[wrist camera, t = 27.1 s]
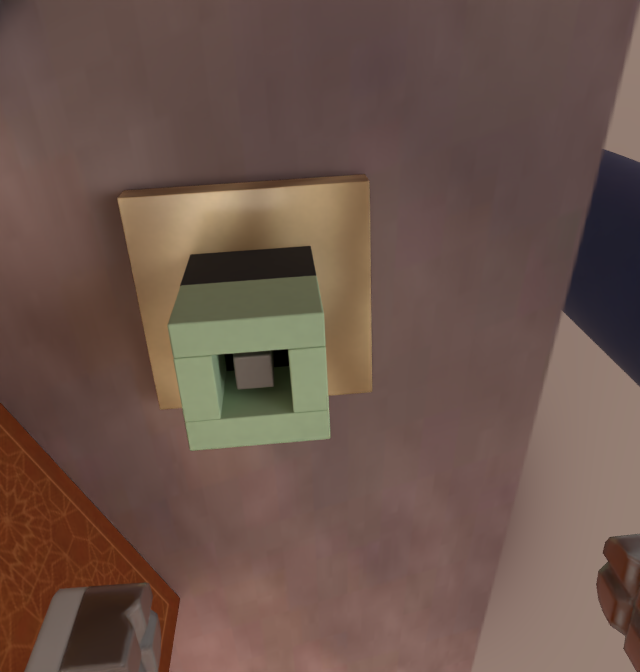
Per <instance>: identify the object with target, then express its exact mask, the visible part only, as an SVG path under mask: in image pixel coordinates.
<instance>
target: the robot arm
mask: <svg viewBox="0 0 640 672" xmlns="http://www.w3.org/2000/svg"><path fill="white" fill-rule="evenodd" d="M603 554H604V556H605V557H606V558H607V560H608V562H607V563H606V564H605V565H604V566H603V567H602V568H601V569H600V570H599V571H598V577H597V583H596V585H597V593H598V599H599V602H600V605H601V608H602V611H603V613H604V615H605V617H606V619H607V620H608V622H609V624H610V626H612V627H613V628H615V629H616V630H618V631H619V632H620V633H622V634H623V635H625V643H624V648H623V649H624V650H625V652H626V654H627V656H628V657H629V659H630V661H631V662H632V664H633V666H634V668H635V670H636V671H637V672H640V534H634V535H624V536H615V537H610V538H609V539H608V540H607V541H606V542H605V546H604V550H603ZM152 600H153V594H152V591H151V587H150V584H149V583H146V582H144V583H130V584H115V585H101V586H89V587H78V588H65V589H59V590H58V591H57V592H56V594H55V595H54V596H53V598H52V600H51V602H50V605H49V608H48V610H47V613H46V616H45V618H44V621H43V624H42V626H41V629H40V632H39V634H38V637H37V640H36V642H35V645H34V647H33V650H32V653H31V655H30V658H29V661H28V663H27V666H26V669H25V671H24V672H158V669H159V662H160V656H161V629H160V622H159V618H158V614H157V613H156V612H154V611H153V610H151V605H152Z"/></svg>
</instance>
